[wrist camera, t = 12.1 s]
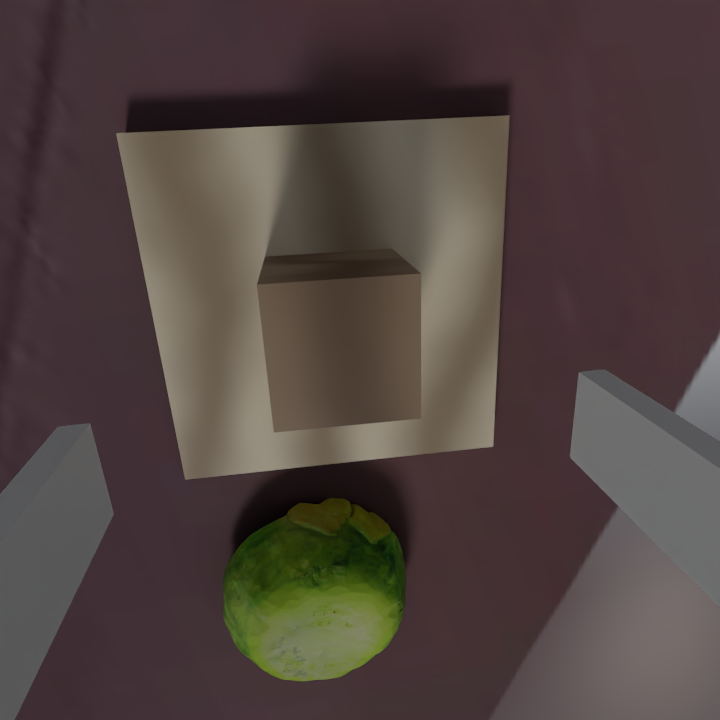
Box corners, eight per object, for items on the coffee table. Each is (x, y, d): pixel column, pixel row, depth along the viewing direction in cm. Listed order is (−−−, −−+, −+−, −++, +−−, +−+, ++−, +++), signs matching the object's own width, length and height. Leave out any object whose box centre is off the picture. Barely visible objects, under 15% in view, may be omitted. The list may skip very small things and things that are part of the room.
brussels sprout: (225, 497, 30) (212, 559, 26) (409, 494, 32) (429, 552, 27) (230, 643, 34) (220, 719, 30) (392, 635, 36) (407, 706, 31)
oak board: (189, 467, 29) (185, 479, 28) (124, 134, 23) (116, 133, 22) (485, 436, 31) (493, 446, 29) (499, 117, 24) (509, 115, 23)
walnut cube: (277, 375, 26) (273, 432, 21) (264, 256, 24) (256, 284, 19) (394, 365, 27) (421, 418, 21) (392, 248, 25) (421, 273, 19)
